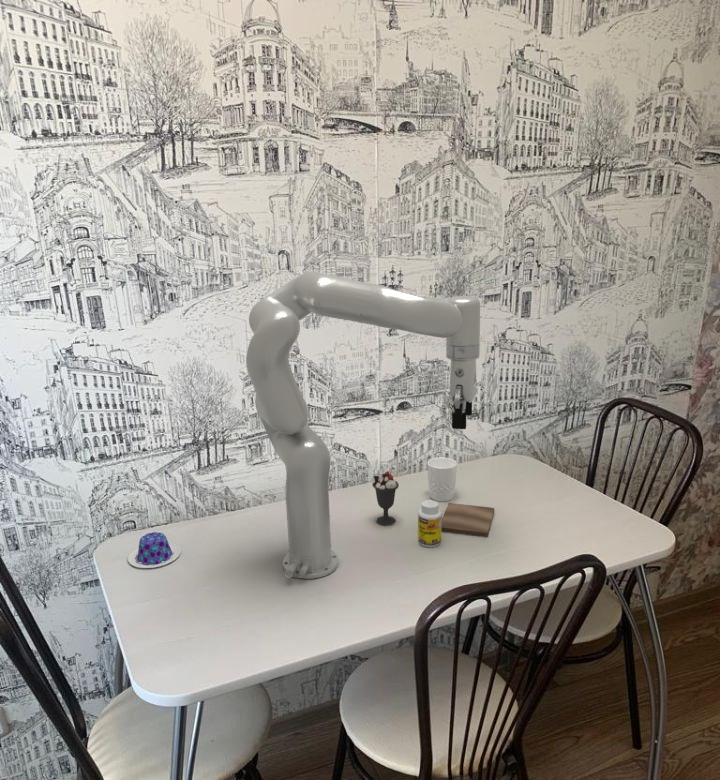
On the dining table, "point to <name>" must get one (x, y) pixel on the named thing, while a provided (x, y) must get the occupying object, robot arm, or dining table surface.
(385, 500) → the sundae
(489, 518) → the walnut board
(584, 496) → the dining table surface
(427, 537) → the supplement bottle
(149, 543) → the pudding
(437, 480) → the white cup
